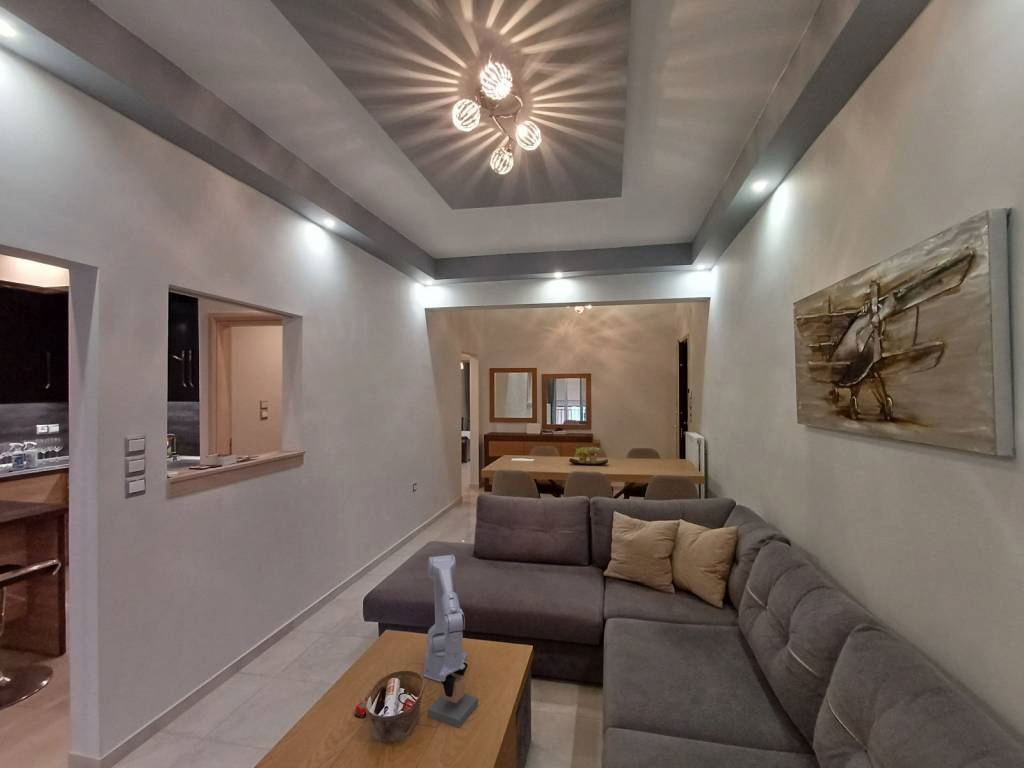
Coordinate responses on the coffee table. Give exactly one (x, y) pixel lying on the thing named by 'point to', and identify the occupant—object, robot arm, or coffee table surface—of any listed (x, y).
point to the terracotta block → (456, 689)
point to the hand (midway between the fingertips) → (453, 691)
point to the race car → (361, 709)
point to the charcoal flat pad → (453, 710)
